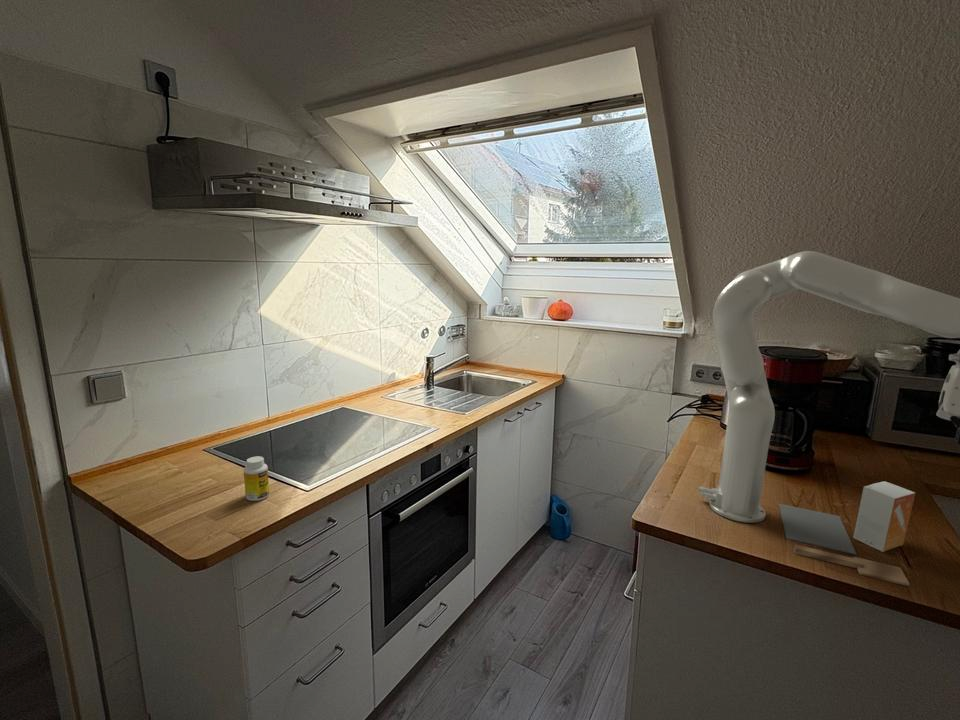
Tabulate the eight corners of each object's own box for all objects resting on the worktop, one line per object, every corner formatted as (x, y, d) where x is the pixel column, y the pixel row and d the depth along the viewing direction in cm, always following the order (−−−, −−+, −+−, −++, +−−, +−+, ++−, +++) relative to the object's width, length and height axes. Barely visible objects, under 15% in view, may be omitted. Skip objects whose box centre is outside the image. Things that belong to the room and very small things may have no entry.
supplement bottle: (261, 503, 121) (258, 464, 119) (240, 500, 122) (237, 462, 120) (274, 492, 127) (271, 455, 125) (254, 490, 127) (251, 454, 125)
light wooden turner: (795, 558, 104) (796, 553, 104) (792, 544, 109) (793, 539, 109) (909, 586, 96) (910, 581, 95) (899, 569, 101) (900, 564, 101)
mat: (786, 538, 111) (786, 537, 111) (778, 504, 127) (779, 503, 127) (856, 554, 106) (856, 553, 106) (839, 517, 122) (839, 516, 122)
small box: (883, 553, 107) (895, 498, 104) (852, 538, 112) (862, 485, 110) (904, 545, 110) (916, 492, 107) (873, 531, 116) (883, 480, 113)
